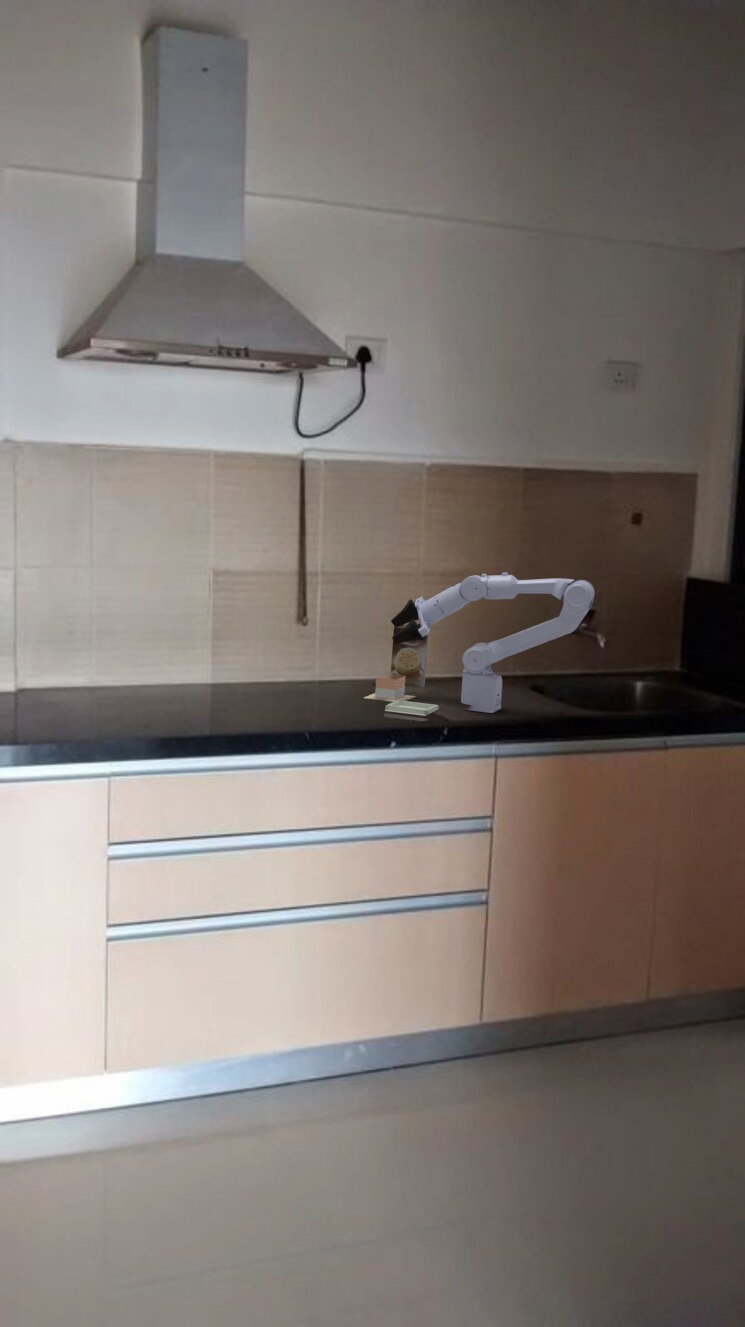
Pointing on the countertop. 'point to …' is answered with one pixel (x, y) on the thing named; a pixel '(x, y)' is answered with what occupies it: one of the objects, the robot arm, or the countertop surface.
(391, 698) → the housing
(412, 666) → the coffee box
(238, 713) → the countertop surface
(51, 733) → the countertop surface
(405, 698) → the stand
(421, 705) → the stand
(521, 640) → the robot arm
